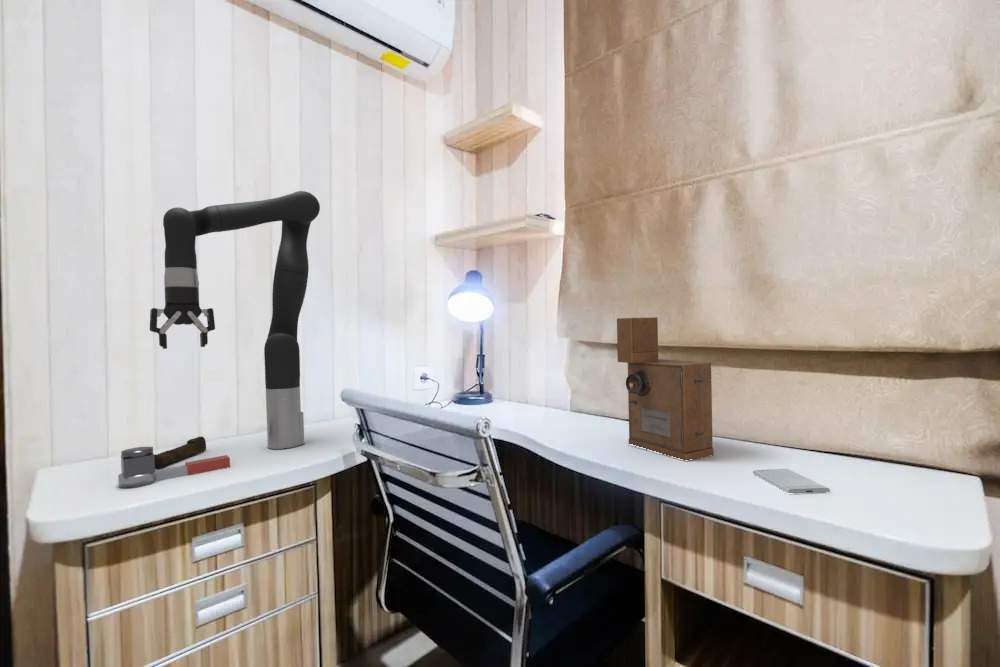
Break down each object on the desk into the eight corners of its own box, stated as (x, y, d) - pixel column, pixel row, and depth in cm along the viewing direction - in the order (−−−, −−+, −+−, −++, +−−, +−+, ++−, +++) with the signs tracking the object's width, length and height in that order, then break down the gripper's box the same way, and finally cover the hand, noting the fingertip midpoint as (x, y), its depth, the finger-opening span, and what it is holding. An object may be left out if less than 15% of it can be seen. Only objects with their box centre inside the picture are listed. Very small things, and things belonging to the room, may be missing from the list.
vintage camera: (617, 447, 132) (615, 318, 131) (655, 440, 139) (652, 317, 138) (674, 464, 115) (671, 316, 115) (713, 455, 122) (711, 315, 121)
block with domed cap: (151, 467, 115) (151, 445, 115) (155, 472, 111) (154, 449, 111) (120, 472, 111) (120, 449, 111) (123, 478, 107) (122, 454, 107)
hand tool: (160, 470, 121) (160, 452, 121) (146, 470, 122) (145, 452, 122) (214, 451, 140) (214, 435, 140) (201, 451, 141) (201, 435, 141)
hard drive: (752, 469, 106) (788, 488, 94) (789, 468, 106) (829, 486, 94) (752, 477, 106) (788, 497, 94) (789, 476, 106) (830, 495, 94)
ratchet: (224, 463, 126) (224, 440, 126) (232, 468, 121) (231, 444, 121) (117, 483, 111) (116, 457, 111) (120, 490, 106) (119, 463, 106)
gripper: (209, 288, 135) (211, 346, 136) (146, 286, 126) (149, 348, 126) (215, 286, 130) (218, 346, 130) (150, 284, 120) (153, 349, 120)
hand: (184, 347), depth 128 cm, fingers open, 8 cm apart
